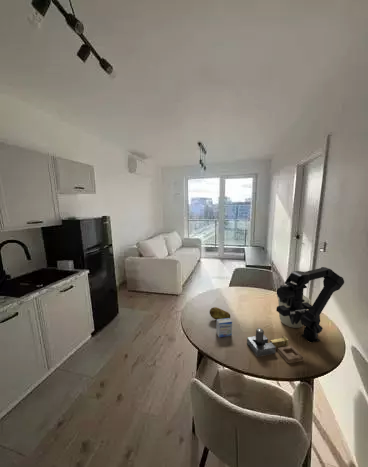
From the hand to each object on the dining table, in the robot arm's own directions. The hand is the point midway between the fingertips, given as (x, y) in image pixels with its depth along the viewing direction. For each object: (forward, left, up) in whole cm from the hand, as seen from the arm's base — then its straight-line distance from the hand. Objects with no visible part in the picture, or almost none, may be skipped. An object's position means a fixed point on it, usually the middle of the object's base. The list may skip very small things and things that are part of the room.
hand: (294, 324), depth 111 cm
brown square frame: (+8, +8, -11) cm, 16 cm away
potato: (+30, -29, -11) cm, 43 cm away
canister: (-12, -16, -11) cm, 23 cm away
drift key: (+9, 0, -11) cm, 14 cm away
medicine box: (+33, -15, -11) cm, 38 cm away
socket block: (+19, 0, -11) cm, 22 cm away
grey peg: (+20, 0, -11) cm, 23 cm away
